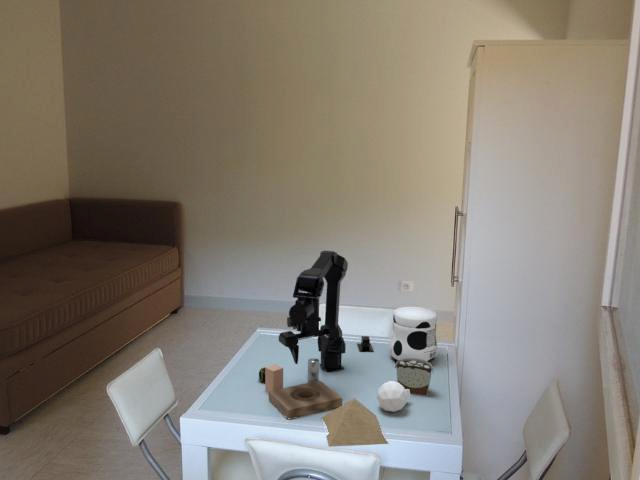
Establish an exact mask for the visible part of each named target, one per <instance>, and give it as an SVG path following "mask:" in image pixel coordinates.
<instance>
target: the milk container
mask: <svg viewBox="0 0 640 480" xmlns="http://www.w3.org/2000/svg"><path fill="white" fill-rule="evenodd" d="M392 317H393V318H392V320H393V321H392V334H391V338H390V342H389V353H390V355H391V357H392V358H393V359H394V360H396V362H397V361H399V360H401V359H406V358H415V359H421V360H425V361H427V362H429V363H430V364H431V362H433V361H434V360H435V359H436V357H437V355H438V342H437V337H436V336H437V335H436V333H437V318H438V317H437V313H436V312H435V311H434V310H432V309H429V308H426V307H422V306H421V307H420V306H401V307H398V308H396V309H395V310H394V311H393V316H392Z"/></svg>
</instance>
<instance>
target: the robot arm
mask: <svg viewBox="0 0 640 480" xmlns="http://www.w3.org/2000/svg"><path fill="white" fill-rule="evenodd" d="M348 267H349V263H348V261H347V259H346V258H345V257H344V256H342V255H340V254H338V252H335V251H333V250H332V251H331V250H321V251H320V255H319V257H318V258H317V259H316V261H315V262H314V263H313V264H312V266H311V267H310V268H307V269H304V270H303V271H301V272H300V273H299V275H298V276H297V277H296V281H295V286H294V291H293V294H292V298H294V299H295V298H296V300H295V303H294V305H292V306H291V307H290V309H289V310H288V317H286V318H287V319H286V323H287V324H286V325H287V327H288V328H292V329H293V330H296V331H297V332H299V333H294V332H293V331H292V330H289V331H283V332H280V333H279V334H278V342H279V343H281V344H282V345H283V347H284V346H285V347H286V348H288V349H289V351H290V353H291V357H292V359H293V361H294V362H293V363H294V364H295V365H298V363H299V353H300V347H299V345H298V344H299V341H301V340H305V339H311V338H316V337H317V348H318V352H320V363H319V368H322V369H323V370H325V371H326V372H328V373H329V372H330V373H332V372H334V371H339V370H343V369H344V368H345V367H344V366H343V365H342V360H343V359H342V357H343V356H342V355H343V354H345V353H346V342H345V339H344V338H343V330H342V329H341V326H340V325H339V314H340V313H339V311H340V297H341V295H340V294H341V282H342V281H343V279H344V278H345V277H346V275H347V271H348ZM324 280H325V281H324ZM325 282H326V298H325V313H324V314H325V315H324V324H322V325H321V326H320V322H321V321H322V317H320V297H322V294H323V291H324V287H325Z"/></svg>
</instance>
